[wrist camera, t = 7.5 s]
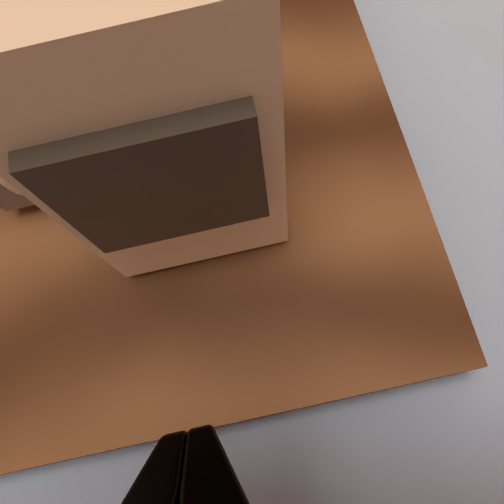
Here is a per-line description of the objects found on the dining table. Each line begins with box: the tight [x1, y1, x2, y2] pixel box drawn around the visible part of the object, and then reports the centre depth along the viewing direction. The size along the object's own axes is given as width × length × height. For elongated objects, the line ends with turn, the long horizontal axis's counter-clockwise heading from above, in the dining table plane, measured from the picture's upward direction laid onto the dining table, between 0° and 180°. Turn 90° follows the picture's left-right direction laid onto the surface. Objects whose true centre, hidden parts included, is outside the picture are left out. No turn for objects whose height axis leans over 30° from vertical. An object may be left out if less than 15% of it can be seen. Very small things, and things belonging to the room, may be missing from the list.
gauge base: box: [0, 0, 487, 475], centre depth 14 cm, size 18×16×8 cm
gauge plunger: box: [0, 0, 288, 277], centre depth 11 cm, size 4×8×9 cm, turn 102°
